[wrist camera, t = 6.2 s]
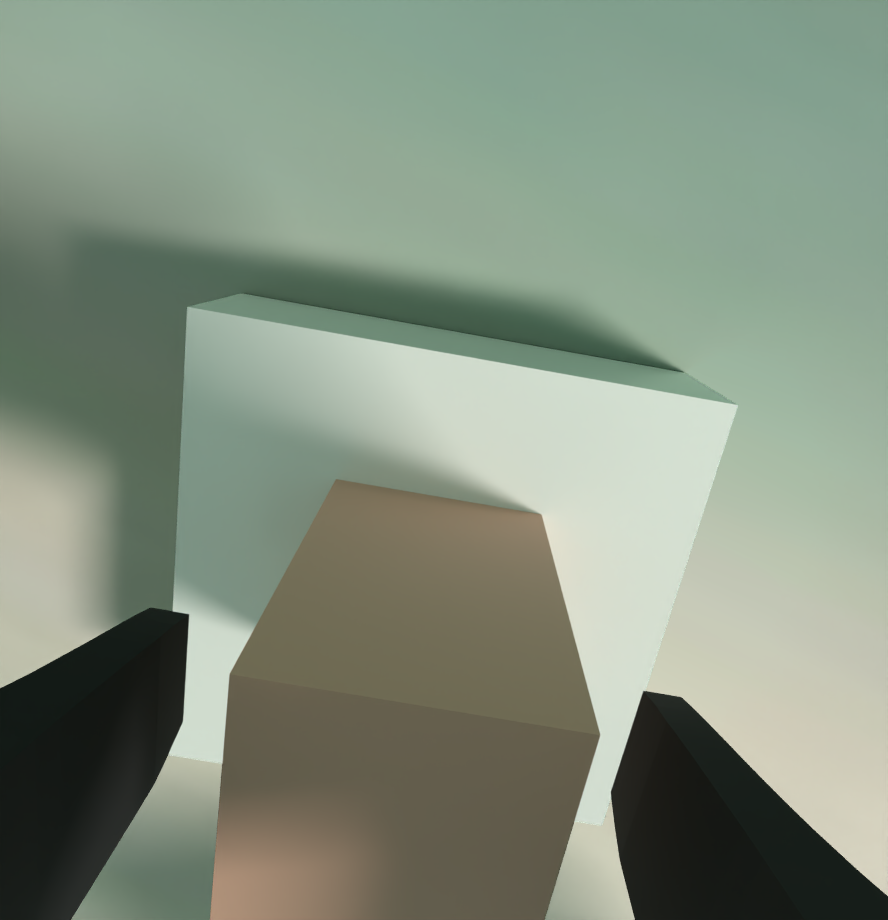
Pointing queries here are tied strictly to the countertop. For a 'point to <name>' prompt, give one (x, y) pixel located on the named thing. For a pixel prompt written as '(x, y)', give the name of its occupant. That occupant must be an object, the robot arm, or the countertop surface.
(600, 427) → the slab
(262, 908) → the block
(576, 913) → the countertop surface
